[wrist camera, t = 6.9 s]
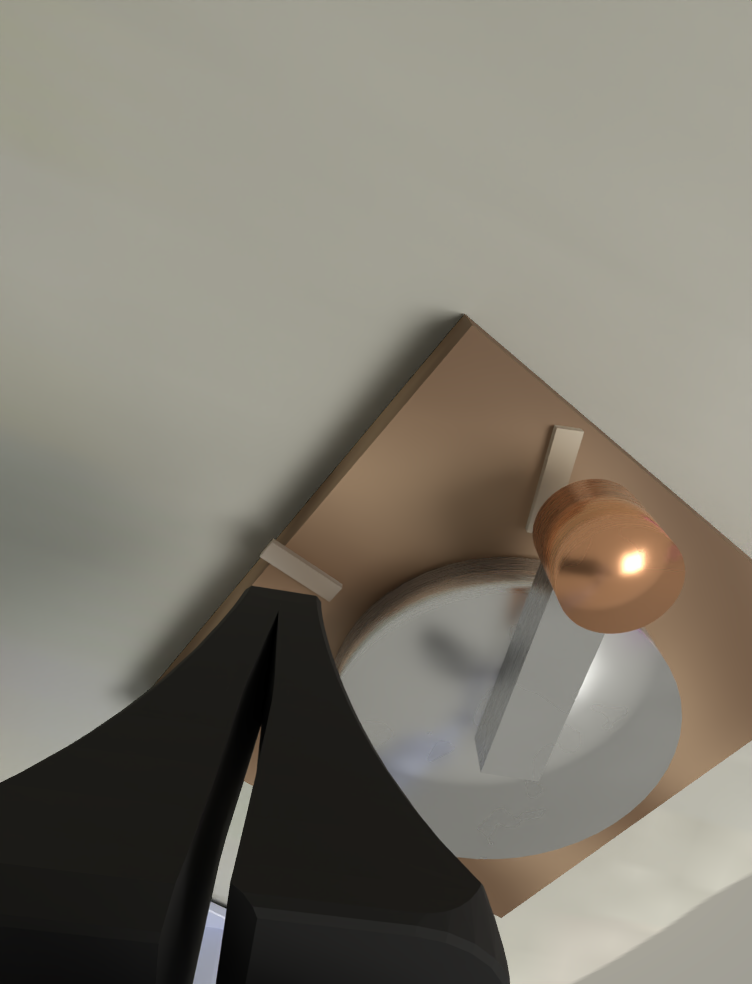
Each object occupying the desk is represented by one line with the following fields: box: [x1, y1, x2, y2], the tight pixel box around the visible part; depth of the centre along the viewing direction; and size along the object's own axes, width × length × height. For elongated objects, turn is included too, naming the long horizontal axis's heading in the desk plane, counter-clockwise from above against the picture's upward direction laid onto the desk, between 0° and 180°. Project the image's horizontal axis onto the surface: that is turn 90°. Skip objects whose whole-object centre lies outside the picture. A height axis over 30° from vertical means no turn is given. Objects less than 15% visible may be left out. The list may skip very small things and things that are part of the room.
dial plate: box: [154, 314, 752, 918], centre depth 21 cm, size 16×16×2 cm
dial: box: [335, 479, 685, 859], centre depth 17 cm, size 13×10×4 cm
